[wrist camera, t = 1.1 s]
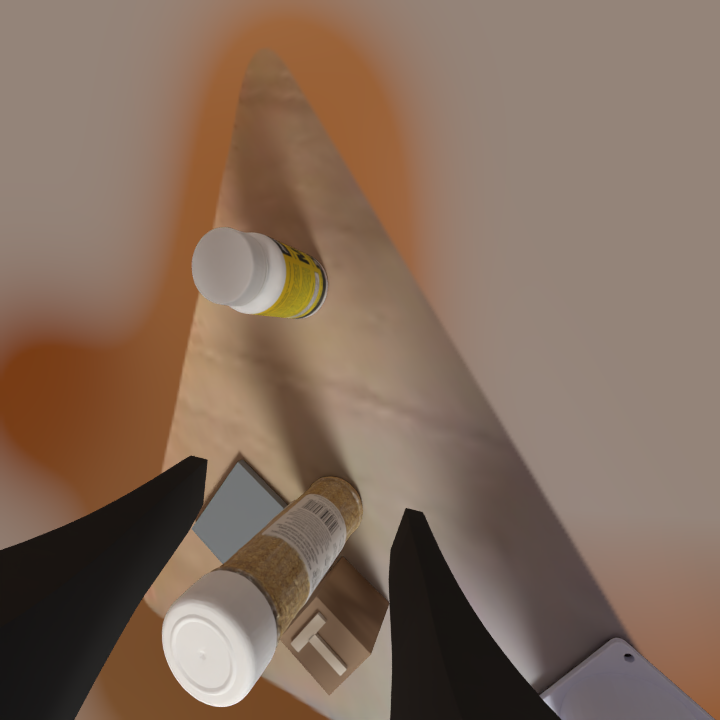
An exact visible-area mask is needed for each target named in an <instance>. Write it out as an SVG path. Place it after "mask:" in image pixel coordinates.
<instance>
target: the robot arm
mask: <svg viewBox="0 0 720 720" xmlns="http://www.w3.org/2000/svg"><path fill="white" fill-rule="evenodd" d="M207 461H208V460H207V459H203V458H199V457H195V456H189V457H187V458H186V459H184V460H182V461H181V462H179V463H178V464H176V465H174V466H173V467H171V468H170V469H168V470H167V471H165V472H163V473H162V474H160V475H159V476H157V477H155V478H154V479H153V480H150V481H149V482H147V483H146V484H144V485H142V486H141V487H139V488H137V489H135V490H134V491H132V492H130V493H128V494H127V495H125V496H123V497H121V498H119V499H118V500H116V501H114V502H112V503H110V504H108V505H106V506H105V507H103V508H101V509H99V510H97V511H95V512H93V513H91V514H89V515H87V516H85V517H82V518H80V519H78V520H76V521H74V522H71V523H69V524H67V525H65V526H62V527H60V528H57V529H55V530H52V531H50V532H48V533H45V534H43V535H40V536H37V537H35V538H33V539H30V540H28V541H25V542H23V543H19V544H17V545H14V546H11V547H8V548H5V549H3V550H0V720H74V719H75V717H76V716H77V714H78V712H79V710H80V708H81V706H82V704H83V702H84V700H85V699H86V697H87V695H88V693H89V691H90V689H91V687H92V685H93V684H94V682H95V680H96V678H97V676H98V675H99V673H100V671H101V669H102V667H103V666H104V664H105V662H106V660H107V658H108V657H109V655H110V653H111V651H112V649H113V648H114V646H115V644H116V642H117V640H118V639H119V637H120V635H121V634H122V632H123V630H124V628H125V627H126V625H127V623H128V621H129V620H130V618H131V616H132V614H133V613H134V611H135V609H136V608H137V606H138V604H139V603H140V601H141V600H142V598H143V597H144V595H145V594H146V592H147V591H148V589H149V588H150V587H151V585H152V584H153V582H154V581H155V579H156V578H157V576H158V575H159V574H160V572H161V571H162V569H163V568H164V566H165V565H166V564H167V562H168V561H169V559H170V558H171V556H172V555H173V554H174V552H175V551H176V549H177V548H178V546H179V545H180V543H181V542H182V540H183V539H184V537H185V536H186V535H187V533H188V531H189V530H190V528H191V526H192V524H193V522H194V521H195V519H196V517H197V515H198V513H199V511H200V509H201V507H202V505H203V500H204V490H205V480H206V471H207ZM389 599H390V621H391V642H392V690H391V715H390V720H715V719H714V718H713V717H712V716H711V715H709V714H708V713H707V712H706V711H705V710H704V709H703V708H701V707H700V706H699V705H698V704H697V703H696V702H694V701H693V700H692V699H691V698H690V697H689V696H688V695H687V694H685V693H684V692H683V691H682V690H681V689H680V688H679V687H677V686H676V685H675V684H674V683H673V682H672V681H671V680H669V679H668V678H667V677H666V676H665V675H664V674H663V673H661V672H660V671H659V670H658V669H657V668H656V667H655V666H653V665H652V664H651V663H650V662H649V661H648V660H647V659H645V658H644V657H643V656H642V655H641V654H640V653H639V652H637V651H636V650H635V649H634V648H633V647H632V646H631V645H629V644H628V643H627V642H626V641H625V640H623V639H621V638H613V639H611V640H610V641H608V642H607V643H606V644H605V645H603V646H602V647H601V648H599V649H598V650H597V651H596V652H594V653H593V654H592V655H590V656H589V657H588V658H587V659H585V660H584V661H583V662H582V663H580V664H579V665H578V666H576V667H575V668H574V669H573V670H571V671H570V672H569V673H567V674H566V675H565V676H564V677H562V678H561V679H560V680H558V681H557V682H556V683H555V684H553V685H552V686H551V687H550V688H548V689H547V690H546V691H544V692H543V693H542V694H541V695H538V694H537V692H536V691H535V690H534V689H533V688H532V687H531V686H530V684H529V683H528V682H527V681H526V680H525V679H524V677H523V676H522V675H521V674H520V673H519V671H518V670H517V669H516V668H515V666H514V665H513V664H512V663H511V661H510V660H509V659H508V658H507V656H506V655H505V654H504V652H503V651H502V650H501V648H500V647H499V646H498V645H497V643H496V642H495V641H494V639H493V638H492V637H491V635H490V634H489V632H488V631H487V630H486V628H485V627H484V625H483V624H482V622H481V621H480V619H479V618H478V616H477V615H476V613H475V612H474V610H473V609H472V607H471V605H470V604H469V602H468V600H467V599H466V597H465V595H464V594H463V592H462V590H461V588H460V587H459V585H458V583H457V582H456V580H455V578H454V576H453V574H452V572H451V570H450V568H449V567H448V565H447V563H446V561H445V559H444V557H443V555H442V553H441V551H440V549H439V547H438V544H437V542H436V540H435V538H434V536H433V534H432V531H431V529H430V527H429V525H428V522H427V520H426V518H425V516H424V514H423V512H420V511H416V510H412V509H408V508H406V509H405V512H404V515H403V517H402V520H401V523H400V525H399V528H398V531H397V534H396V536H395V539H394V542H393V545H392V547H391V552H390V566H389ZM625 654H631V656H630V657H625V656H624V655H625Z"/></svg>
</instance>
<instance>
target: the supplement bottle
mask: <svg viewBox="0 0 720 720" xmlns="http://www.w3.org/2000/svg"><path fill="white" fill-rule="evenodd" d="M192 274H193V279H194V282H195V284H196V287H197V289H198V290H199V292H200V293H201V294H202V295H203V296H204V297H205V298H206V299H208V300H209V301H211V302H213V303H216V304H221V305H228V306H230V307H231V308H232V309H234V310H236V311H238V312H241V313H246V314H253V315H263V316H274V317H282V318H292V319H303V318H307V317H309V316H311V315H313V314H314V313H316V312H317V311H318V310H319V309H320V308H321V306H322V305H323V303H324V301H325V299H326V295H327V290H328V281H327V276H326V273H325V270H324V269H323V267H322V265H321V264H320V263H319V262H318V261H317V260H316V259H315V258H313V257H311V256H310V255H307V254H305V253H303V252H301V251H298V250H296V249H294V248H292V247H290V246H288V245H285V244H283V243H281V242H279V241H276V240H274V239H272V238H270V237H268V236H266V235H263V234H260V233H254V232H248V233H245V232H242V231H238V230H235V229H232V228H229V227H220V228H216V229H213V230H211V231H209V232H208V233H207V234H205V235H204V236H203V237H202V238H201V240H200V241H199V243H198V244H197V247H196V248H195V251H194V254H193V259H192Z"/></svg>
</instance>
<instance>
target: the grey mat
mask: <svg viewBox="0 0 720 720" xmlns="http://www.w3.org/2000/svg"><path fill="white" fill-rule="evenodd" d="M287 506H288V505H287V504H286V503H285V502H284V501H283V500H282V499H281V498H280V497H279V496H278V495H277V494H276V493H275V492H274V491H273V490H272V489H271V488H270V487H269V486H268V485H267V484H266V483H265V482H264V481H263V480H262V479H261V478H260V477H259V476H258V475H257V474H256V473H255V472H254V470H253V469H252V468H251V467H250V466H249V465H248V464H247V463H246V462H245V461H244V460H241V461H239V462H237V464H236V465H235V467H234V468H233V470H232V471H231V472H230V474H229V475H228V477H227V478H226V480H225V481H224V483H223V484H222V485H221V487H220V488H219V490H218V491H217V493H216V494H215V496H214V497H213V498H212V500H211V501H210V503H209V504H208V506H207V507H206V509H205V510H204V511H203V513H202V514H201V516H200V517H199V519H198V520H197V522H196V523H195V524H194V526H193V527H192V530H193V531H194V532H195V533H196V534H197V536H198V537H199V538H200V539H201V540H202V541H203V542H204V543H205V545H206V546H207V547H208V548H209V549H210V550H211V551H212V552H213V554H214V555H215V556H216V557H217V558H218V559H219V560H220V561H221V563H222V564H224V563H225V562H226V561H227V560H228V559H229V558H231V557H232V556H233V555H234V554H235V553H236V552H237V551H238V550H239V549H240V548H241V547H243V546H244V545H245V544H246V543H247V542H248V541H250V540H251V539H252V538H253V537H254V536H255V535H256V534H257V533H258V532H260V531H261V530H262V529H263V528H264V527H265V526H266V525H267V524H268V522H269V521H270V520H272V519H273V518H274V517H275V516H276V515H277V514H279V513H280V512H281V511H282V510H283V509H284V508H286V507H287Z"/></svg>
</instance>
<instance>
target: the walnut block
mask: <svg viewBox="0 0 720 720" xmlns="http://www.w3.org/2000/svg"><path fill="white" fill-rule="evenodd" d="M388 606H389V602H388V601H387V600H386V599H385V598H384V597H383V596H382V595H381V594H380V593H379V592H378V591H377V590H376V589H375V588H374V587H373V586H372V585H371V584H370V583H369V582H368V581H367V580H366V579H365V578H364V577H363V576H362V575H361V574H360V573H359V572H358V571H357V570H356V569H355V568H354V567H353V566H352V565H351V564H350V563H349V562H348V561H347V560H346V559H345V558H344V557H342V558H341V559H340V560H339V561H338V562H337V564H336V565H335V566H334V567H333V568H332V569H331V570H330V572H329V573H328V574H327V575H326V576H325V577H324V578H323V580H322V581H321V582H320V583H319V584H318V585H317V587H316V588H315V590H314V591H313V593H312V594H311V596H310V597H309V599H308V600H307V602H306V603H305V605H304V606H303V607H302V608H301V609H300V610H299V612H298V613H297V614H296V616H295V618H294V619H293V620H292V621H291V623H290V624H289V626H288V628H287V629H286V630H285V632H284V633H283V635H282V636H281V638H280V640H281V641H282V642H283V644H284V645H285V646H286V647H287V648H288V649H289V650H290V651H291V653H292V654H293V655H294V656H295V657H296V658H297V659H298V661H299V662H300V663H301V664H302V665H303V666H304V667H305V668H306V670H307V671H308V672H309V673H310V674H311V675H312V676H313V678H314V679H315V680H316V681H317V682H318V683H319V684H320V685H321V687H322V688H323V689H324V690H325V691H326V692H327V693H328V695H330V694H331V693H332V692H333V691H334V690H335V689H336V688H337V687H338V686H339V685H340V684H341V683H342V682H343V681H344V680H345V679H346V678H347V677H348V676H349V675H350V674H351V673H352V672H353V671H354V670H355V669H356V668H357V667H359V666H360V665H361V664H362V663H363V662H364V661H365V660H366V659H367V658H368V657H369V656H370V655H371V653H372V650H373V647H374V644H375V642H376V639H377V636H378V633H379V631H380V628H381V625H382V622H383V620H384V617H385V614H386V611H387V609H388Z"/></svg>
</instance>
